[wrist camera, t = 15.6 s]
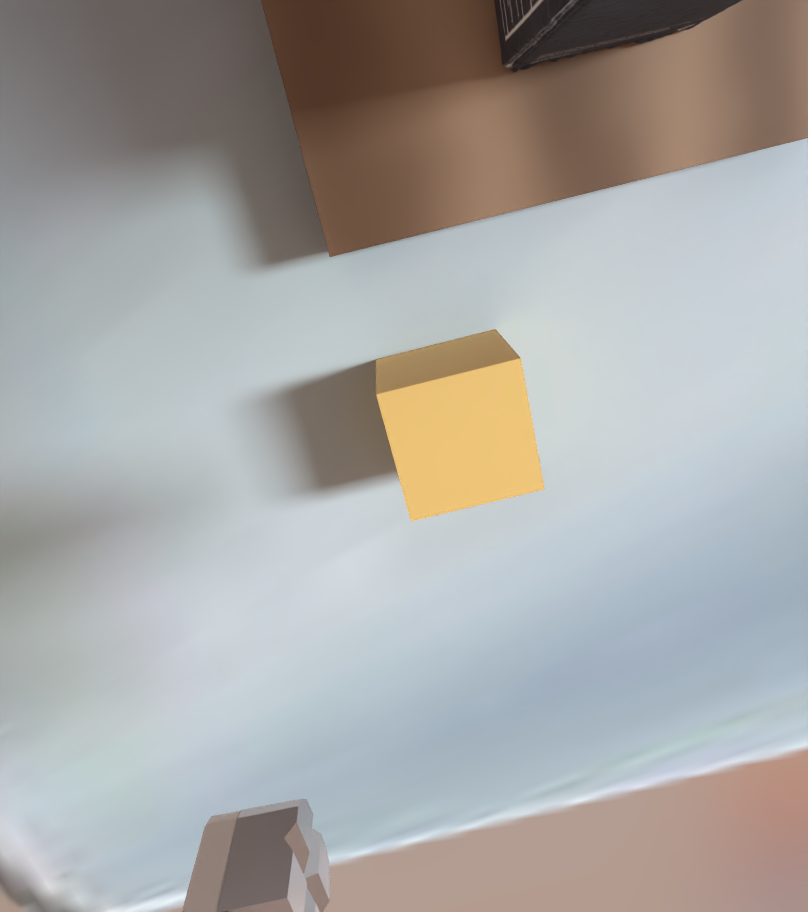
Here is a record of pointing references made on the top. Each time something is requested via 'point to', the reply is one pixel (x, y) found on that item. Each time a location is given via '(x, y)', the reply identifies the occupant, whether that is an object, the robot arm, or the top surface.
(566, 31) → the small box
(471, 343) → the mustard block
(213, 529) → the top surface
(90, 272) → the top surface
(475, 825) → the top surface
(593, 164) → the base board
